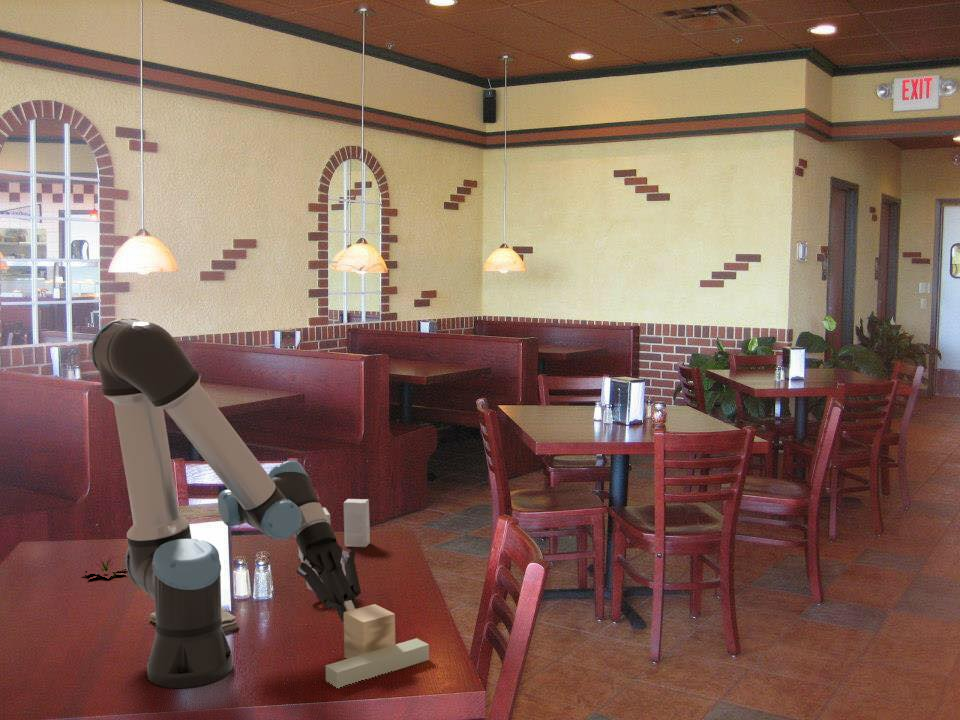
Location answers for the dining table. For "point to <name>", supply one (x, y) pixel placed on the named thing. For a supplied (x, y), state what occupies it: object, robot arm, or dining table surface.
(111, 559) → the lily flower
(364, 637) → the block
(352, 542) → the skincare box
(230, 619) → the washcloth
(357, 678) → the pale grey bar
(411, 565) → the dining table surface
